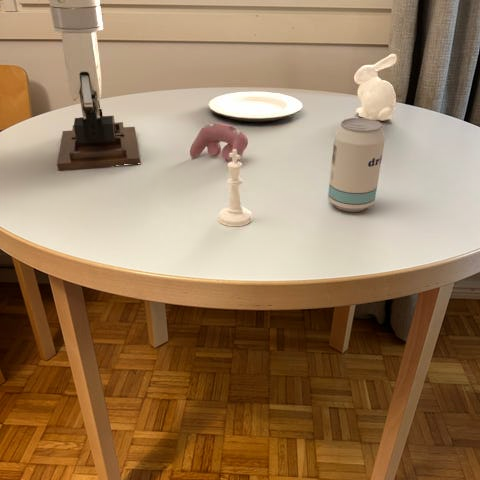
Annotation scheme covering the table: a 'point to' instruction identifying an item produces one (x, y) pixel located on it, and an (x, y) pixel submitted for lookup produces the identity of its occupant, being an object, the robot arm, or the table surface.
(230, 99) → the plate
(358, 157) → the beverage can
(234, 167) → the chess piece
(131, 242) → the table surface
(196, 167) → the table surface
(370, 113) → the rabbit
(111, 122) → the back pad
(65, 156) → the brown stepped block
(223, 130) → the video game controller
